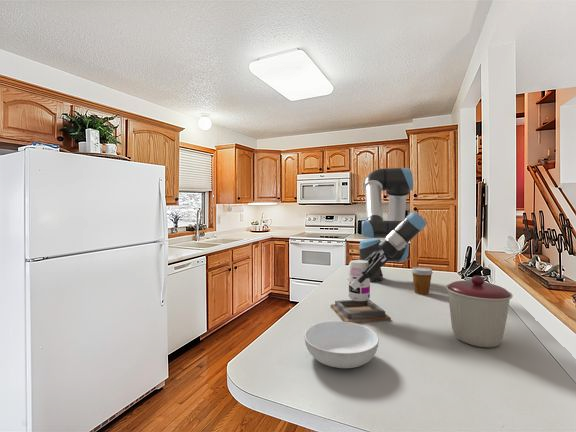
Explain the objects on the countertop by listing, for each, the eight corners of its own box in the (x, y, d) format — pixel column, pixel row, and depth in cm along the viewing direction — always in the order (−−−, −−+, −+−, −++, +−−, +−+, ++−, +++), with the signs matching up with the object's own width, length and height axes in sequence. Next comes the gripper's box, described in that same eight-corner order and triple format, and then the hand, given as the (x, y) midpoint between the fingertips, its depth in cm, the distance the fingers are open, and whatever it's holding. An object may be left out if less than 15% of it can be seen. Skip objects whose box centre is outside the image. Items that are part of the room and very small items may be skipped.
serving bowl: (328, 335, 101) (328, 315, 101) (389, 355, 88) (390, 332, 87) (289, 361, 85) (289, 337, 85) (357, 390, 72) (357, 362, 71)
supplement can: (367, 295, 124) (368, 259, 123) (371, 302, 116) (371, 263, 115) (347, 295, 125) (348, 259, 124) (350, 301, 117) (350, 263, 116)
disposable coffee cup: (435, 296, 143) (436, 271, 142) (415, 295, 143) (416, 271, 142) (427, 290, 152) (427, 266, 152) (408, 290, 152) (408, 266, 152)
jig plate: (330, 306, 128) (330, 299, 128) (370, 304, 131) (370, 297, 131) (345, 323, 111) (345, 315, 111) (390, 320, 114) (390, 312, 113)
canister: (446, 324, 109) (447, 267, 108) (507, 335, 100) (509, 273, 99) (443, 344, 94) (444, 278, 93) (514, 360, 85) (517, 286, 84)
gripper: (407, 256, 108) (362, 299, 110) (391, 247, 129) (353, 284, 131) (392, 241, 108) (347, 284, 110) (378, 235, 129) (341, 271, 131)
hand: (350, 284), depth 120 cm, fingers closed on supplement can, 8 cm apart
